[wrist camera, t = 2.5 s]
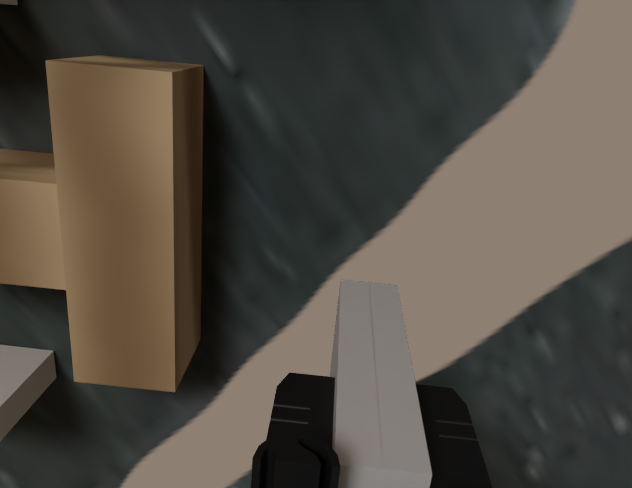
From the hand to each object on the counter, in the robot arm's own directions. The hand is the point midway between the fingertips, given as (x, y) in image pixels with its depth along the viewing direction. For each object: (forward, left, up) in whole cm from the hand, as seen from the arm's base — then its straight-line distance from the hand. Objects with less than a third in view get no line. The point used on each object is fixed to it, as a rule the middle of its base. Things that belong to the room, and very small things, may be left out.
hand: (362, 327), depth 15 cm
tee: (+12, 0, -8) cm, 14 cm away
